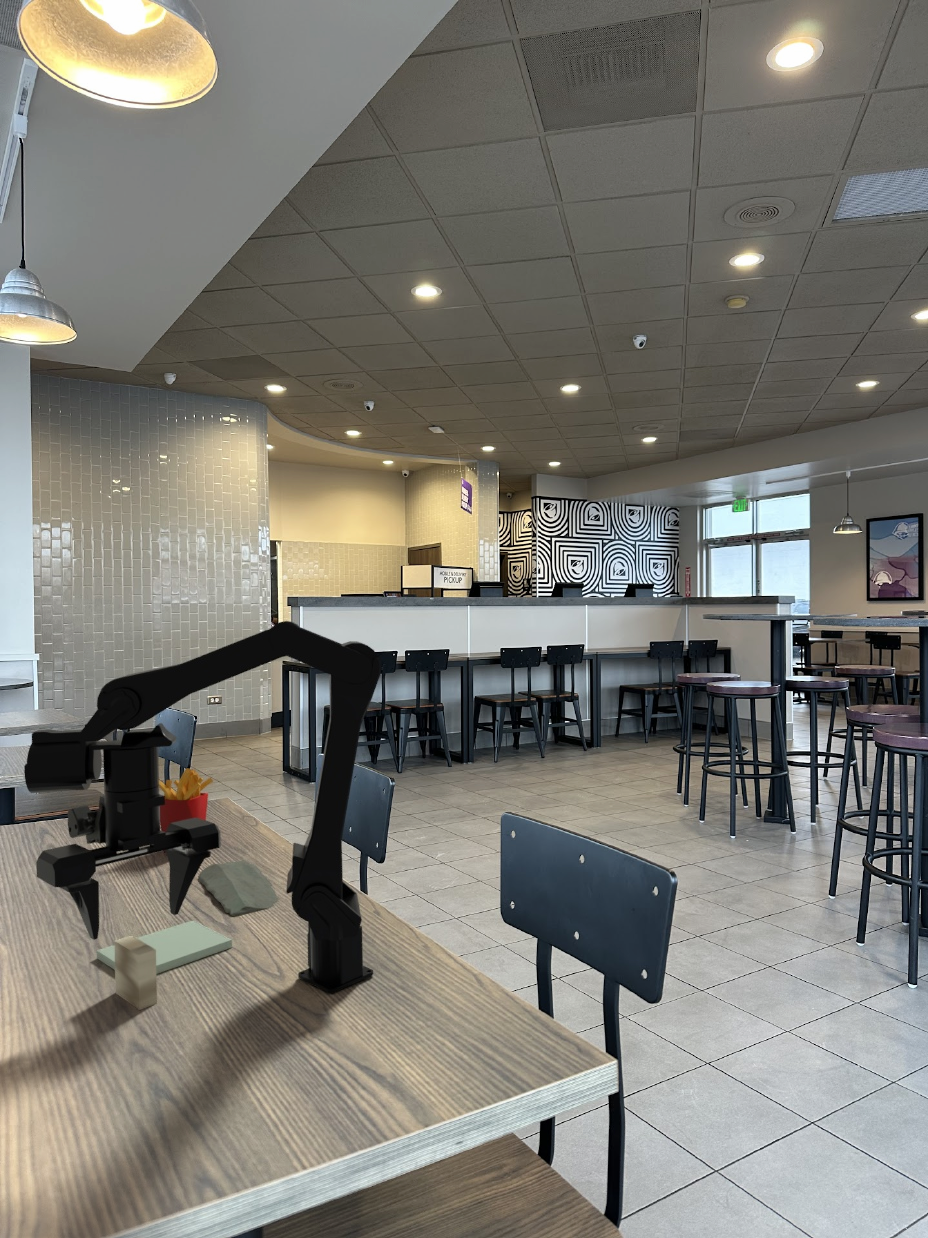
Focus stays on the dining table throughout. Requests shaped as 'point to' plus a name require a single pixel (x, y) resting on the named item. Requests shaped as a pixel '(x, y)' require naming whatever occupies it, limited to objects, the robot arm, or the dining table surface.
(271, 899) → the stone slab
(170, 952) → the mat
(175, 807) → the french fries
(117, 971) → the beige flat box
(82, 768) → the robot arm
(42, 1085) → the dining table surface
